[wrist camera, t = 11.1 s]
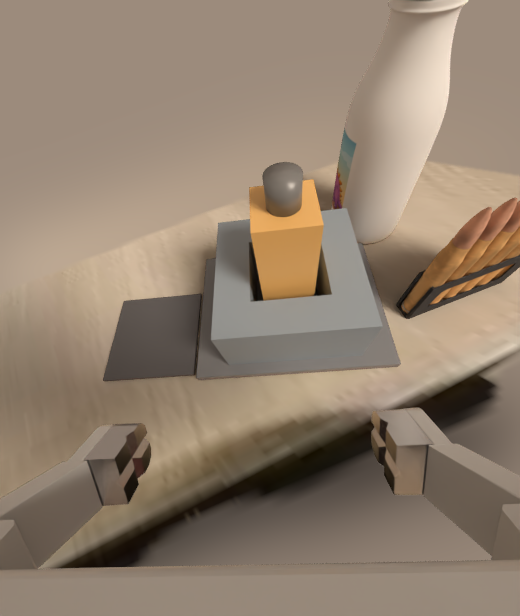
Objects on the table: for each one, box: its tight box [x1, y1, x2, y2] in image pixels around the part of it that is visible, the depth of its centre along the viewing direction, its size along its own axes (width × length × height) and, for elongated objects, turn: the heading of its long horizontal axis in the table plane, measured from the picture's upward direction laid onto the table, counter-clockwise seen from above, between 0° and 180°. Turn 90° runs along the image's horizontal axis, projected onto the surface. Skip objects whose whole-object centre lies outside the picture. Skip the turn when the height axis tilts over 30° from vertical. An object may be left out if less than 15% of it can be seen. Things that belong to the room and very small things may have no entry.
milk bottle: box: [331, 0, 468, 244], centre depth 23 cm, size 8×8×20 cm
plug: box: [249, 162, 324, 301], centre depth 20 cm, size 4×4×14 cm
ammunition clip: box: [396, 198, 520, 319], centre depth 20 cm, size 11×2×12 cm, turn 110°
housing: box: [196, 208, 401, 380], centre depth 24 cm, size 18×14×7 cm
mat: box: [103, 294, 202, 381], centre depth 27 cm, size 9×9×1 cm
